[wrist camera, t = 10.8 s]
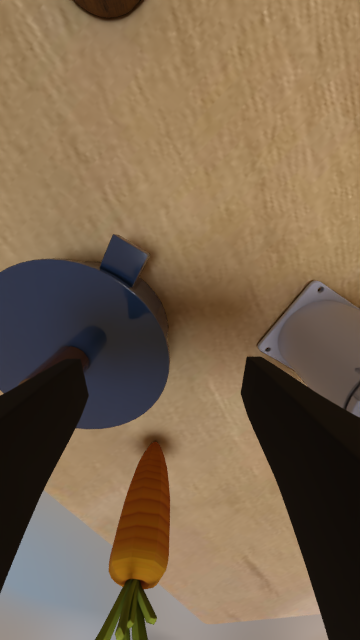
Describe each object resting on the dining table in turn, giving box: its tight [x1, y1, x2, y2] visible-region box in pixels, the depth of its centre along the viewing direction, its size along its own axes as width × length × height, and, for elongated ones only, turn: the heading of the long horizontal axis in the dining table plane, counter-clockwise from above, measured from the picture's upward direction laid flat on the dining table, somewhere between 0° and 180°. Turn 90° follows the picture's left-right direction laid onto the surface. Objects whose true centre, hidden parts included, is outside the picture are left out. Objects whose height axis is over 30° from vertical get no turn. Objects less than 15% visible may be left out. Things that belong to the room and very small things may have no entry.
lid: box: [0, 258, 170, 429], centre depth 13 cm, size 14×14×5 cm
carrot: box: [95, 441, 170, 640], centre depth 18 cm, size 5×5×15 cm
